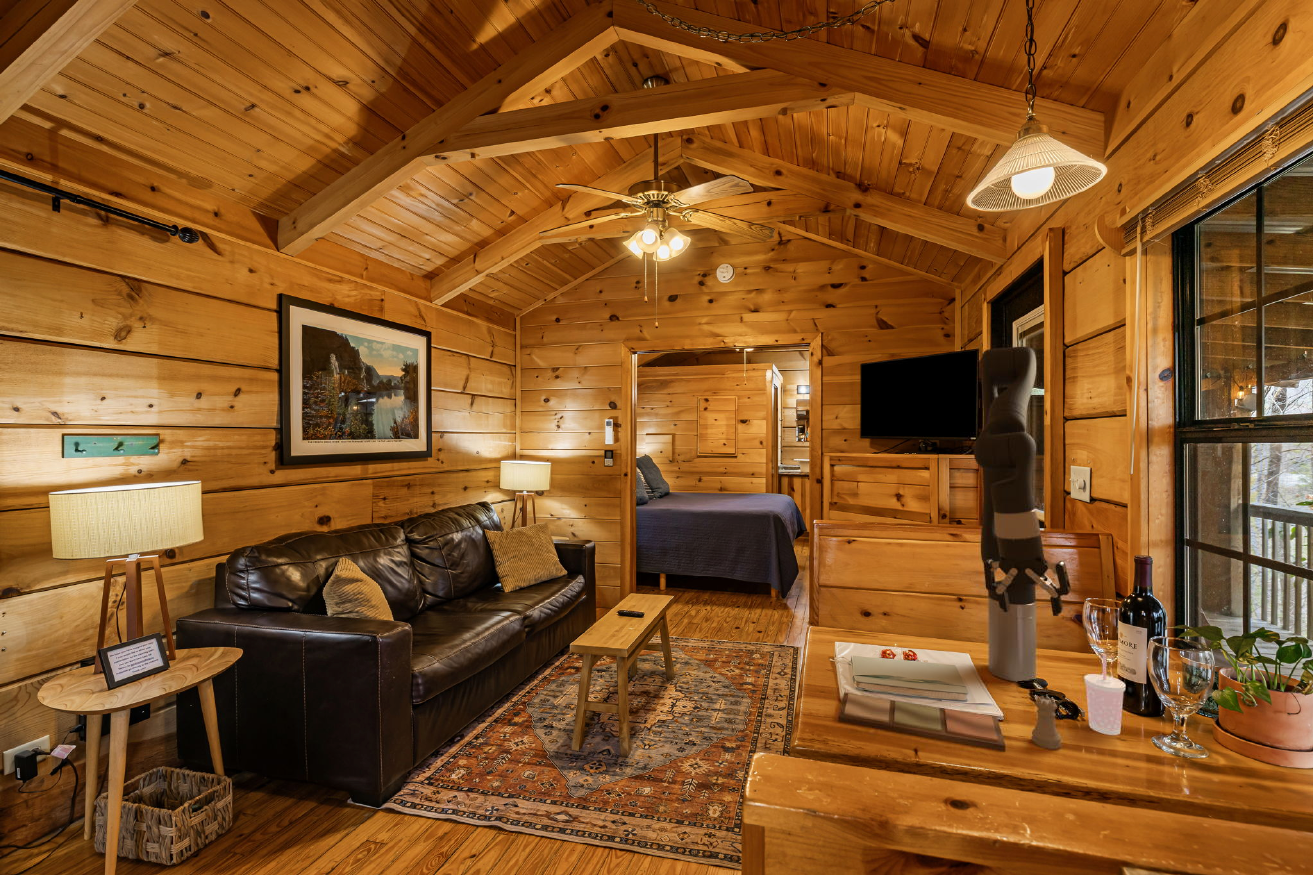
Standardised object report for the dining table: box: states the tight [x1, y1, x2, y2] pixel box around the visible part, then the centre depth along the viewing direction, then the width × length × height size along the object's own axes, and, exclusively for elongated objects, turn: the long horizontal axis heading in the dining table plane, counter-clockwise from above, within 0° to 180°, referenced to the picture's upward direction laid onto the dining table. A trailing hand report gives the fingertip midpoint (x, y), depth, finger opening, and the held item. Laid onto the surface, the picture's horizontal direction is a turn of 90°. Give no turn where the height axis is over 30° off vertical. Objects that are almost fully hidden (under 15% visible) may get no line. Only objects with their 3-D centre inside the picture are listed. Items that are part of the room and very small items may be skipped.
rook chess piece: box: [1031, 695, 1062, 751], centre depth 104 cm, size 4×4×8 cm
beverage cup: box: [1083, 653, 1126, 736], centre depth 109 cm, size 6×6×14 cm
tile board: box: [837, 691, 1006, 752], centre depth 112 cm, size 11×28×1 cm, turn 67°
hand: (1030, 612), depth 116 cm, fingers open, 8 cm apart
